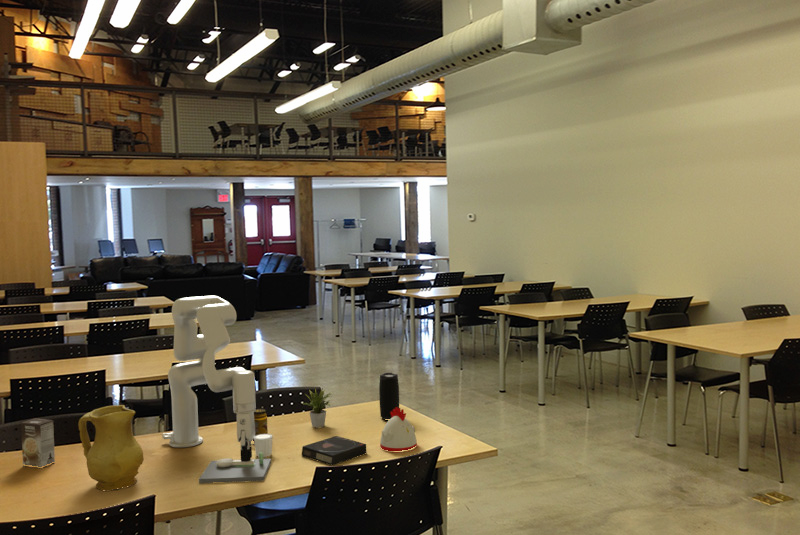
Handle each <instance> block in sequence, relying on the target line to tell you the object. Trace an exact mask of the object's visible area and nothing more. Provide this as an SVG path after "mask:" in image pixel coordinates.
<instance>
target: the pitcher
mask: <svg viewBox="0 0 800 535" xmlns="http://www.w3.org/2000/svg"><path fill="white" fill-rule="evenodd" d="M135 414H136V411H135V410H133V409H129V408H126V406H125V405H124V404H118V405H116V404H115V405H107V406H103V407H99V408H95V409H93V410H92V411H90V412H87V413H85V414H84V415H83V416H82V417H80V418H79V420H78V424H77V425H78V430H79V437H80V441H81V445H82V448H83V455H84V457H85V459H86V468H87V472H88V475H89V477H90V479H93V480H94V481H95V482H97V483H95V487H96V488H97V490H100V489H101V490H100V491H103V490H112V489H117V488H121V489H123V488H122V487H125V488H128V487H127V486H129V487H131V486H133V485H135V484H136V483H137V482H138V480H137V478H136V476H137V475H139V473H140V472H139V469H140V467H141V465H142V464H143V462H144V451H143V449H142V447H141V445H140V443H139V442H138V440H136V438H135V436H134V434H133V430H132V418H133V417H134V416H135ZM87 422H91V423H92V425H93V426H94V429H95V436H94V441H93V443H92V444H91V440H90V436H89V433H88V430H87ZM130 485H131V486H130ZM112 491H113V490H112Z"/></svg>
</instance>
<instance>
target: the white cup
mask: <svg viewBox="0 0 800 535" xmlns="http://www.w3.org/2000/svg"><path fill="white" fill-rule="evenodd" d="M273 437H274V436H273V435H272V434H270V433H268V434H259V435H256V436H254V443H255V444H254V449H255V457H257V456H258V457H257V458H259V453H261V452H262V453H263V458H268V457H270V455H271V454H273V453H272V451H273ZM267 456H268V457H267ZM271 456H272V455H271Z"/></svg>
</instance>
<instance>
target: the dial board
mask: <svg viewBox="0 0 800 535" xmlns="http://www.w3.org/2000/svg"><path fill="white" fill-rule="evenodd" d="M250 459H251V460H254V465H232V466H229V467H217V463H216V462H217V461H218V460H219V459H218V460H211V461H209V464H208V466H206V468H205V469H204V470H203V471H202V472H203V473H202V474H201V475H200V476H199V478H198V484H214V483H213V482H225V483H245V481H250V482H264V480H265V478H266V476H267V474H268V472H269V470H270V467H271V464H272V458H264V457H263V453H262V452H261V453H259V457H258V458H250Z"/></svg>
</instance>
